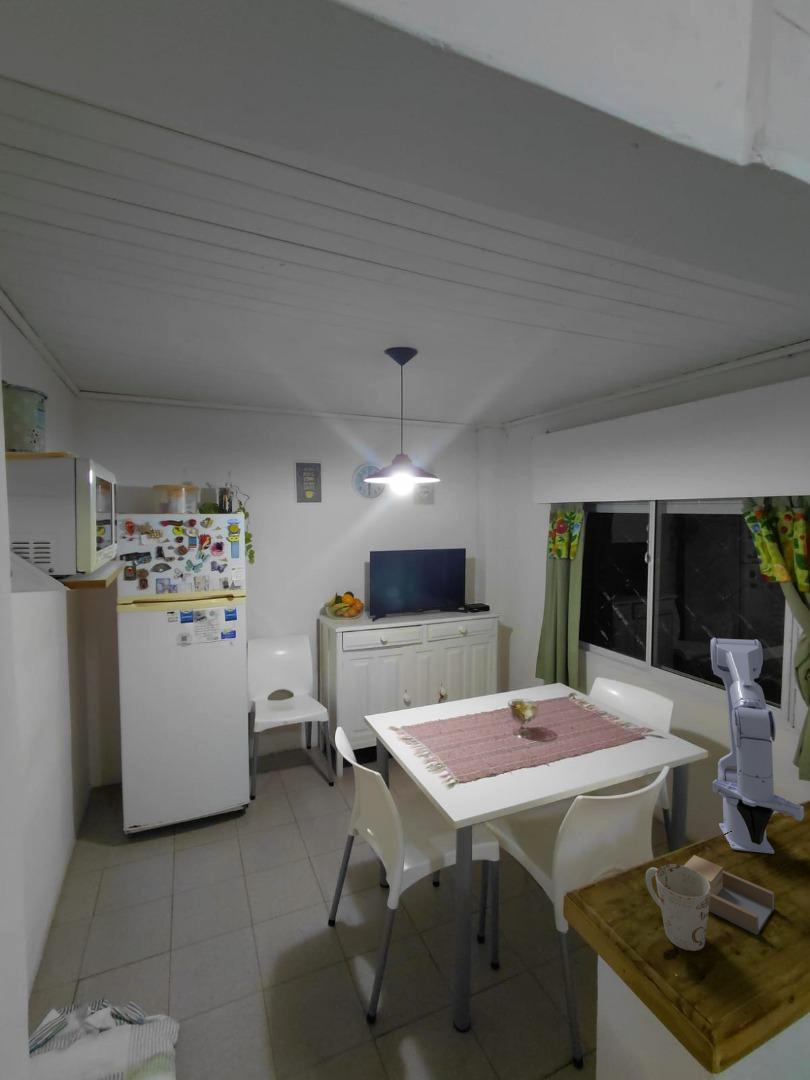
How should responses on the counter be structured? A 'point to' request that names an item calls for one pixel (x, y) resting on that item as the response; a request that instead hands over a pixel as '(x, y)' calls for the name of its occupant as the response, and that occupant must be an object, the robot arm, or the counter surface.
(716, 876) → the tan wooden block
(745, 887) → the bay
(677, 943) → the mug
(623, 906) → the counter surface
